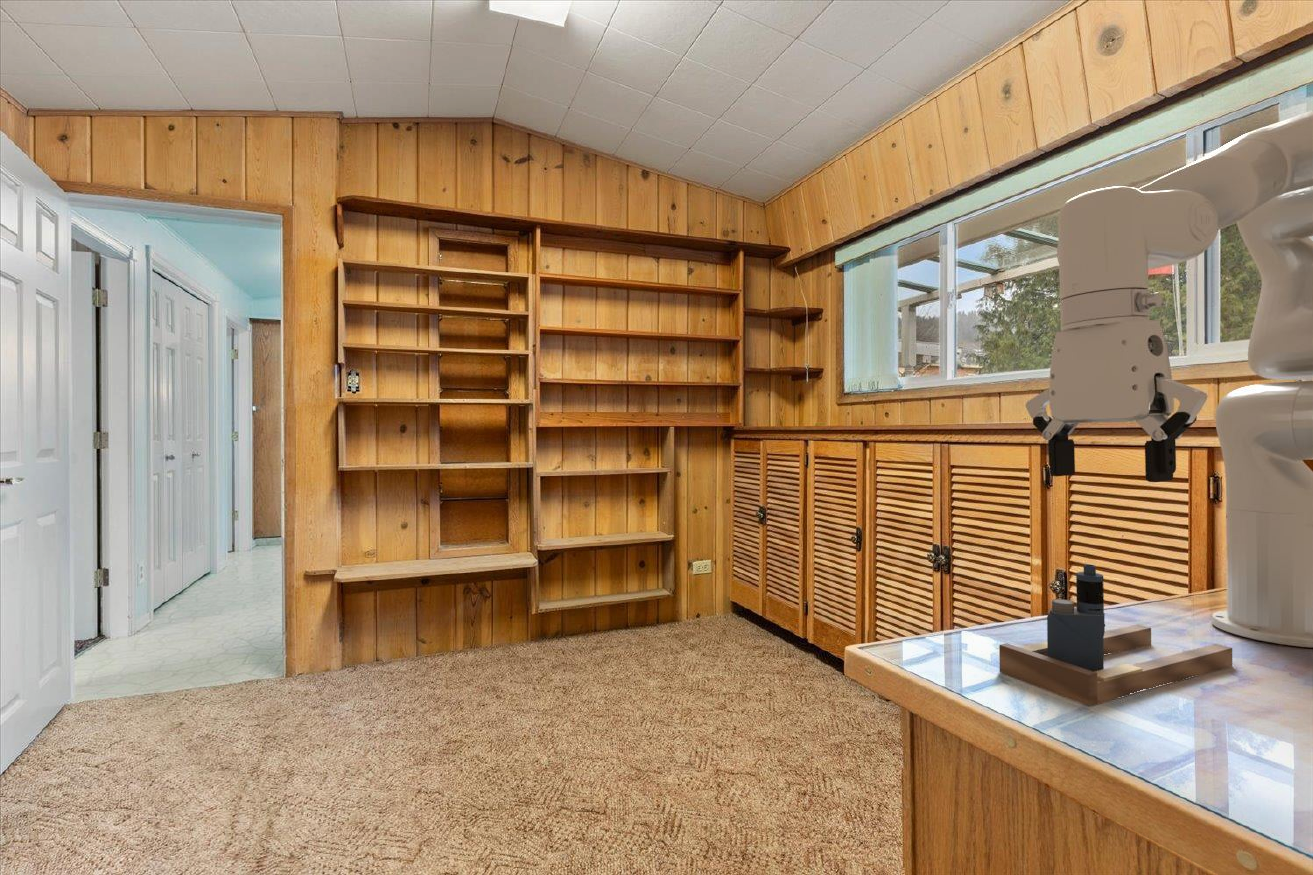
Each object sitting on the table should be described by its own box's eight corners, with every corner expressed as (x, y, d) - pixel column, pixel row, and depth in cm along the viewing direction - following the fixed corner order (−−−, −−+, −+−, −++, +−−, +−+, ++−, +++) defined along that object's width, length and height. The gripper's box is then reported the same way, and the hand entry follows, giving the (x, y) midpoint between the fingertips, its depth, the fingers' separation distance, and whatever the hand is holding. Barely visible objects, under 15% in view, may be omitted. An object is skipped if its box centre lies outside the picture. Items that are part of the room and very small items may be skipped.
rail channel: (1137, 640, 78) (1137, 616, 78) (1232, 666, 69) (1232, 638, 69) (999, 672, 69) (999, 644, 69) (1089, 706, 60) (1089, 674, 60)
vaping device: (1110, 685, 65) (1109, 568, 65) (1054, 682, 66) (1052, 567, 66) (1098, 676, 67) (1096, 563, 67) (1043, 673, 68) (1042, 562, 68)
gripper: (1225, 298, 59) (1229, 481, 60) (1048, 328, 75) (1052, 471, 76) (1176, 295, 56) (1181, 486, 57) (1003, 326, 72) (1008, 475, 73)
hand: (1107, 478), depth 66 cm, fingers open, 9 cm apart
